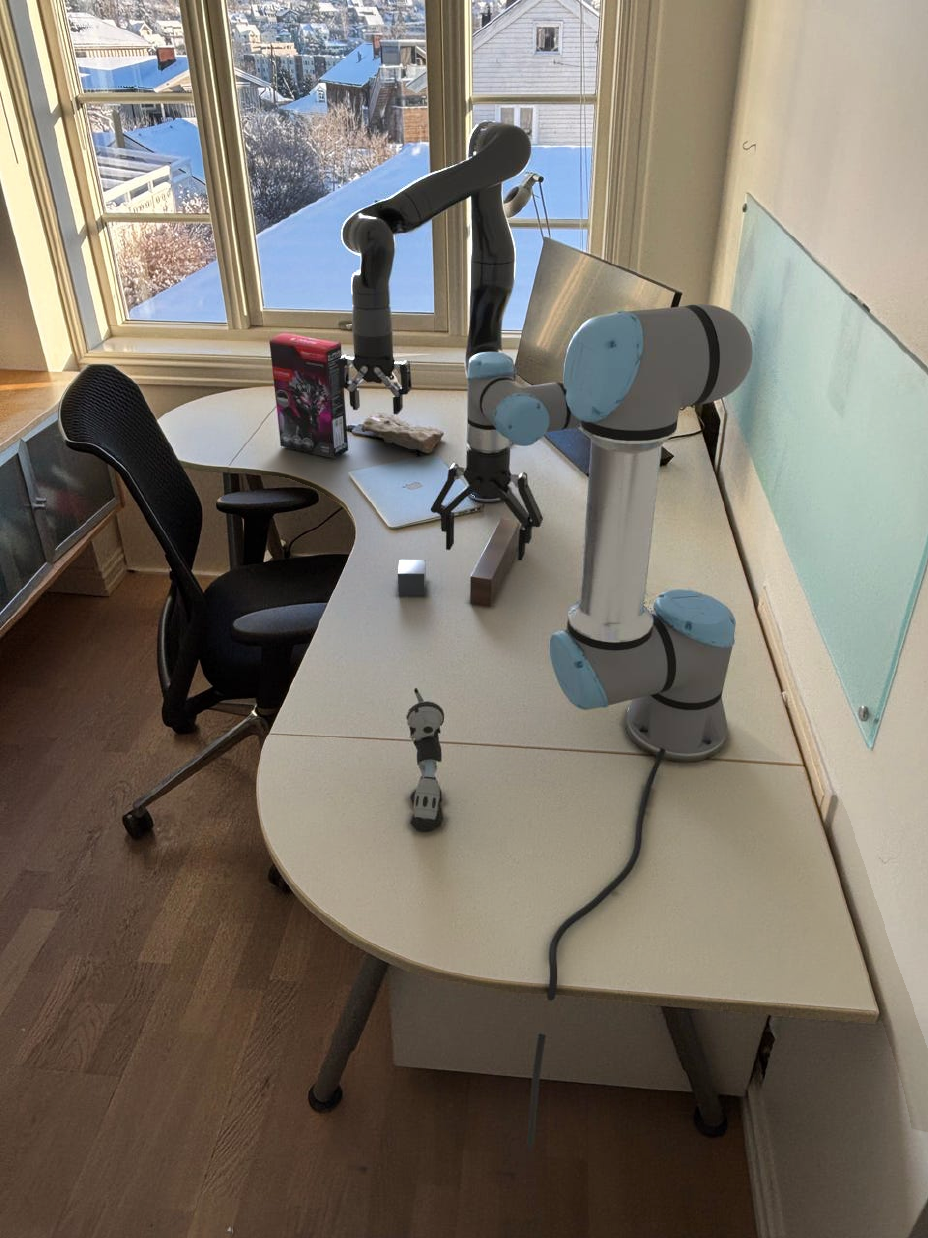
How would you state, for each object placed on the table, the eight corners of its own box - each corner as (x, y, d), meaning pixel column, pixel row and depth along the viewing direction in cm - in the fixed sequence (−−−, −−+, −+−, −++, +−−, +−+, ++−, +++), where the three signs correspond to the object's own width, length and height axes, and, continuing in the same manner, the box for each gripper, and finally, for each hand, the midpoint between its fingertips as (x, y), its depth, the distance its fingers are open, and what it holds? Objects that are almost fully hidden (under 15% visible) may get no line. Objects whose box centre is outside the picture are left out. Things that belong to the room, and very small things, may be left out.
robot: (446, 864, 120) (446, 749, 109) (409, 865, 120) (405, 750, 109) (442, 761, 137) (441, 652, 126) (409, 762, 136) (405, 652, 125)
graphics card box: (278, 447, 232) (266, 338, 217) (294, 437, 237) (284, 331, 222) (334, 460, 225) (326, 350, 210) (350, 450, 230) (343, 341, 215)
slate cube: (424, 596, 175) (424, 573, 172) (398, 595, 175) (397, 573, 172) (425, 582, 179) (425, 560, 176) (400, 582, 179) (399, 559, 176)
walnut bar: (490, 607, 172) (491, 579, 169) (470, 603, 173) (470, 576, 169) (518, 546, 191) (519, 520, 188) (499, 543, 192) (500, 518, 189)
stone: (345, 437, 230) (349, 413, 227) (367, 428, 243) (371, 405, 241) (423, 461, 226) (429, 437, 224) (441, 451, 239) (446, 428, 237)
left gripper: (414, 326, 176) (416, 408, 185) (344, 320, 179) (349, 400, 188) (402, 337, 169) (404, 421, 179) (329, 331, 173) (335, 413, 182)
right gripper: (564, 444, 158) (555, 551, 170) (425, 427, 164) (426, 532, 176) (556, 462, 152) (547, 572, 165) (412, 444, 158) (414, 551, 170)
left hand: (376, 410), depth 183 cm, fingers open, 8 cm apart
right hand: (485, 551), depth 170 cm, fingers open, 13 cm apart
